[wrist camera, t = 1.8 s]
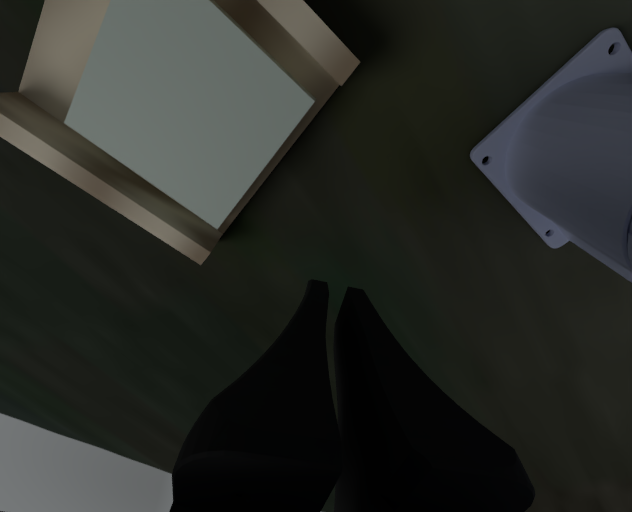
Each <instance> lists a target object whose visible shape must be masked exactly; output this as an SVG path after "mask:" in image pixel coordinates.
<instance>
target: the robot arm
mask: <svg viewBox="0 0 632 512" xmlns="http://www.w3.org/2000/svg"><path fill="white" fill-rule="evenodd" d="M612 44H614V49H613V51H612V52H611V53H610V54H609V53H608V50H609V47H610V46H611V45H612ZM486 156H488V161H487V162H486V163H484V164H482V159H483V158H484V157H486ZM470 158H471V160H472V161H473V162H474V163H475V165H476V166H477V167H478V168H479V169H480V170H481V171H482V172H483V173H484V175H485V176H486V177H487V178H488V179H489V180H490V181H491V182H492V184H493V185H494V186H495V187H496V188H497V189H498V190H499V191H500V192H501V194H502V195H503V196H504V197H505V198H506V199H507V200H508V201H509V203H510V204H511V205H512V206H513V207H514V208H515V209H516V210H517V211H518V213H519V214H520V215H521V216H522V217H523V218H524V219H525V220H526V222H527V223H528V224H529V225H530V226H531V227H532V228H533V229H534V230H535V232H536V233H537V234H538V235H539V236H540V237H541V238H542V239H543V241H544V242H545V243H546V244H547V245H548V246H550V247H551V248H559V247H561V246H562V245H564V244H565V243H567V242H568V241H571V242H573V243H574V244H576V245H577V246H579V247H580V248H582V249H583V250H585V251H586V252H588V253H589V254H590V255H592V256H593V257H595V258H596V259H598V260H599V261H601V262H602V263H604V264H605V265H607V266H608V267H610V268H611V269H613V270H614V271H615V272H617V273H618V274H620V275H621V276H623V277H624V278H626V279H627V280H629V281H630V282H632V51H631V50H630V48H629V46H628V44H627V42H626V41H625V39H624V37H623V35H622V33H621V32H620V30H619V29H618V28H608V29H605V30H603V31H601V32H600V33H599V34H597V35H596V36H595V37H594V38H593V39H592V40H591V41H590V42H589V43H588V44H587V45H585V46H584V47H583V48H582V49H581V50H580V51H579V52H578V53H577V54H576V55H574V56H573V57H572V58H571V59H570V60H569V61H568V62H567V63H566V64H565V65H564V66H562V67H561V68H560V69H559V70H558V71H557V72H556V73H555V74H554V75H553V76H552V77H550V78H549V79H548V80H547V81H546V82H545V83H544V84H543V85H542V86H541V87H540V88H538V89H537V90H536V91H535V92H534V93H533V94H532V95H531V96H530V97H529V98H527V99H526V100H525V101H524V102H523V103H522V104H521V105H520V106H519V107H518V108H517V109H515V110H514V111H513V112H512V113H511V114H510V115H509V116H508V117H507V118H506V119H505V120H503V121H502V122H501V123H500V124H499V125H498V126H497V127H496V128H495V129H494V130H492V131H491V132H490V133H489V134H488V135H487V136H486V137H485V138H484V139H483V140H482V141H480V142H479V143H478V144H477V145H476V146H475V147H474V148H473V149H472V150H471V153H470ZM548 230H550V232H549V233H547V234H546V232H547V231H548ZM328 298H329V290H328V284H327V282H323V281H318V280H313V279H311V280H309V281H308V284H307V288H306V292H305V295H304V298H303V300H302V302H301V304H300V306H299V307H298V309H297V311H296V313H295V314H294V316H293V317H292V319H291V320H290V322H289V323H288V325H287V326H286V328H285V329H284V331H283V332H282V333H281V334H280V336H279V337H278V338H277V339H276V341H275V342H274V343H273V344H272V345H271V346H270V348H269V349H268V350H267V351H266V352H265V353H264V354H263V355H262V356H261V357H260V358H259V359H258V360H257V361H256V362H255V363H254V364H253V365H252V366H251V367H250V368H249V369H248V370H247V371H246V372H245V373H244V374H242V375H241V376H240V377H239V378H238V379H237V380H236V381H234V382H233V383H232V384H231V385H229V386H228V387H227V388H226V389H224V390H223V391H222V392H221V393H219V394H218V395H217V396H215V397H214V398H213V399H212V400H211V401H210V402H209V404H208V405H207V407H206V408H205V409H204V411H203V412H202V413H201V415H200V416H199V418H198V419H197V421H196V422H195V424H194V425H193V427H192V429H191V430H190V432H189V434H188V436H187V438H186V439H185V441H184V443H183V445H182V448H181V450H180V453H179V456H178V458H177V461H176V463H175V466H174V469H173V473H172V484H173V485H172V486H173V504H172V506H171V509H170V512H320V511H321V510H322V508H323V506H324V504H325V502H326V500H327V499H328V497H329V495H330V493H331V491H332V490H333V488H334V486H335V484H336V487H335V506H334V512H524V511H526V510H527V509H528V508H529V507H530V506H531V505H532V502H533V500H534V497H535V491H534V487H533V485H532V483H531V481H530V479H529V477H528V475H527V473H526V471H525V469H524V467H523V465H522V463H521V461H520V459H519V457H518V455H517V454H516V452H515V450H514V449H513V448H512V447H511V446H509V445H508V444H507V443H505V442H504V441H503V440H501V439H500V438H499V437H497V436H496V435H495V434H493V433H492V432H491V431H489V430H488V429H487V428H485V427H484V426H483V425H481V424H480V423H479V422H478V421H476V420H475V419H474V418H473V417H472V416H470V415H469V414H468V413H467V412H466V411H464V410H463V409H462V408H461V407H460V406H458V405H457V404H456V403H455V402H454V401H453V400H452V399H451V398H449V397H448V396H447V395H446V394H445V393H444V392H443V391H442V390H441V389H440V388H439V387H438V386H437V385H436V384H435V383H434V382H433V381H432V380H431V379H430V378H429V377H428V376H427V375H426V374H425V373H424V372H423V371H422V370H421V369H420V368H419V367H418V365H417V364H416V363H415V362H414V361H413V360H412V359H411V358H410V357H409V355H408V354H407V353H406V352H405V350H404V349H403V348H402V347H401V345H400V344H399V343H398V341H397V340H396V339H395V338H394V336H393V335H392V333H391V332H390V331H389V329H388V328H387V326H386V325H385V323H384V322H383V320H382V319H381V317H380V316H379V314H378V313H377V311H376V310H375V308H374V306H373V305H372V303H371V302H370V300H369V298H368V297H367V295H366V293H365V292H364V290H362V289H357V288H352V287H348V288H347V291H346V294H345V297H344V299H343V302H342V305H341V308H340V311H339V314H338V317H337V320H336V323H335V329H334V363H335V376H336V389H337V402H338V424H337V419H336V414H335V409H334V404H333V399H332V393H331V386H330V379H329V371H328V362H327V352H326V338H325V334H326V319H327V309H328ZM0 512H3V511H0Z"/></svg>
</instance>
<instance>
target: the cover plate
mask: <svg viewBox="0 0 632 512" xmlns="http://www.w3.org/2000/svg"><path fill="white" fill-rule="evenodd" d="M315 100H316V98H315V97H314V96H313V95H312V94H311V93H310V92H308V91H307V90H306V89H305V88H304V87H303V86H302V85H301V84H300V83H299V82H298V81H297V80H296V79H295V78H294V77H293V76H292V75H291V74H290V73H289V72H288V71H287V70H286V69H285V68H284V67H283V66H282V65H281V64H279V63H278V62H277V61H276V60H275V59H274V58H273V57H272V56H271V55H270V54H269V53H268V52H267V51H266V50H265V49H264V48H263V47H262V46H261V45H260V44H259V43H258V42H257V41H256V40H255V39H254V38H253V37H252V36H250V35H249V34H248V33H247V32H246V31H245V30H244V29H243V28H242V27H241V26H240V25H239V24H238V23H237V22H236V21H235V20H234V19H233V18H232V17H231V16H230V15H229V14H228V13H227V12H226V11H225V10H224V9H222V8H221V7H220V6H219V5H218V4H217V3H216V2H215V1H214V0H110V3H109V6H108V8H107V11H106V14H105V16H104V19H103V21H102V24H101V27H100V29H99V32H98V35H97V37H96V40H95V43H94V45H93V48H92V50H91V53H90V56H89V58H88V61H87V64H86V66H85V69H84V71H83V74H82V77H81V79H80V82H79V85H78V87H77V90H76V92H75V95H74V98H73V100H72V103H71V106H70V108H69V111H68V114H67V116H66V119H65V121H64V123H65V124H66V125H68V126H69V127H71V128H72V129H73V130H75V131H76V132H78V133H79V134H81V135H82V136H84V137H85V138H86V139H88V140H89V141H91V142H92V143H94V144H95V145H96V146H98V147H99V148H101V149H102V150H104V151H105V152H107V153H108V154H109V155H111V156H112V157H114V158H115V159H117V160H118V161H120V162H121V163H122V164H124V165H125V166H127V167H128V168H130V169H131V170H132V171H134V172H135V173H137V174H138V175H140V176H141V177H143V178H144V179H145V180H147V181H148V182H150V183H151V184H153V185H154V186H155V187H157V188H158V189H160V190H161V191H163V192H164V193H166V194H167V195H168V196H170V197H171V198H173V199H174V200H176V201H177V202H178V203H180V204H181V205H183V206H184V207H186V208H187V209H189V210H190V211H191V212H193V213H194V214H196V215H197V216H199V217H200V218H201V219H203V220H204V221H206V222H207V223H209V224H210V225H212V226H213V227H214V228H216V229H218V228H219V226H220V225H221V224H222V223H223V221H224V220H225V219H226V217H227V216H228V215H229V213H230V212H231V211H232V209H233V208H234V207H235V206H236V204H237V203H238V202H239V200H240V199H241V198H242V196H243V195H244V194H245V192H246V191H247V190H248V188H249V187H250V186H251V185H252V183H253V182H254V181H255V179H256V178H257V177H258V175H259V174H260V173H261V171H262V170H263V169H264V168H265V166H266V165H267V164H268V162H269V161H270V160H271V158H272V157H273V156H274V154H275V153H276V152H277V150H278V149H279V148H280V147H281V145H282V144H283V143H284V141H285V140H286V139H287V137H288V136H289V135H290V133H291V132H292V131H293V130H294V128H295V127H296V126H297V124H298V123H299V122H300V120H301V119H302V118H303V116H304V115H305V114H306V112H307V111H308V110H309V109H310V107H311V106H312V105H313V103H314V102H315Z"/></svg>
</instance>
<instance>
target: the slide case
mask: <svg viewBox="0 0 632 512" xmlns="http://www.w3.org/2000/svg"><path fill="white" fill-rule="evenodd" d="M214 1H215V2H216V3H217V4H218V5H219V6H220V7H221V8H222V9H224V10H225V11H226V12H227V13H228V14H229V15H230V16H231V17H232V18H233V19H234V20H235V21H236V22H237V23H238V24H239V25H240V26H241V27H242V28H243V29H244V30H245V31H246V32H247V33H248V34H249V35H250V36H252V37H253V38H254V39H255V40H256V41H257V42H258V43H259V44H260V45H261V46H262V47H263V48H264V49H265V50H266V51H267V52H268V53H269V54H270V55H271V56H272V57H273V58H274V59H275V60H276V61H277V62H278V63H279V64H281V65H282V66H283V67H284V68H285V69H286V70H287V71H288V72H289V73H290V74H291V75H292V76H293V77H294V78H295V79H296V80H297V81H298V82H299V83H300V84H301V85H302V86H303V87H304V88H305V89H306V90H307V91H308V92H310V93H311V94H312V95H313V96H314V97H315V98H316V100H315V102H314V103H313V105H312V106H311V107H310V109H309V110H308V111H307V112H306V114H305V115H304V116H303V118H302V119H301V120H300V122H299V123H298V124H297V126H296V127H295V128H294V130H293V131H292V132H291V133H290V135H289V136H288V137H287V139H286V140H285V141H284V143H283V144H282V145H281V147H280V148H279V149H278V150H277V152H276V153H275V154H274V156H273V157H272V158H271V160H270V161H269V162H268V164H267V165H266V166H265V168H264V169H263V170H262V171H261V173H260V174H259V175H258V177H257V178H256V179H255V181H254V182H253V183H252V185H251V186H250V187H249V188H248V190H247V191H246V192H245V194H244V195H243V196H242V198H241V199H240V200H239V202H238V203H237V204H236V206H235V207H234V208H233V209H232V211H231V212H230V213H229V215H228V216H227V217H226V219H225V220H224V221H223V223H222V224H221V225H220V226H219V228H218V229H216V228H214V227H213V226H212V225H210V224H209V223H207V222H206V221H204V220H203V219H201V218H200V217H199V216H197V215H196V214H194V213H193V212H191V211H190V210H189V209H187V208H186V207H184V206H183V205H181V204H180V203H178V202H177V201H176V200H174V199H173V198H171V197H170V196H168V195H167V194H166V193H164V192H163V191H161V190H160V189H158V188H157V187H155V186H154V185H153V184H151V183H150V182H148V181H147V180H145V179H144V178H143V177H141V176H140V175H138V174H137V173H135V172H134V171H132V170H131V169H130V168H128V167H127V166H125V165H124V164H122V163H121V162H120V161H118V160H117V159H115V158H114V157H112V156H111V155H109V154H108V153H107V152H105V151H104V150H102V149H101V148H99V147H98V146H96V145H95V144H94V143H92V142H91V141H89V140H88V139H86V138H85V137H84V136H82V135H81V134H79V133H78V132H76V131H75V130H73V129H72V128H71V127H69V126H68V125H66V124H65V123H64V121H65V119H66V116H67V114H68V111H69V108H70V106H71V103H72V100H73V98H74V95H75V92H76V90H77V87H78V85H79V82H80V79H81V77H82V74H83V71H84V69H85V66H86V64H87V61H88V58H89V56H90V53H91V50H92V48H93V45H94V43H95V40H96V37H97V35H98V32H99V29H100V27H101V24H102V21H103V19H104V16H105V14H106V11H107V8H108V6H109V3H110V0H45V2H44V6H43V9H42V13H41V16H40V20H39V23H38V26H37V30H36V33H35V37H34V40H33V44H32V47H31V50H30V54H29V57H28V61H27V64H26V68H25V71H24V74H23V78H22V81H21V85H20V88H19V92H9V93H0V137H2V138H3V139H5V140H6V141H8V142H10V143H11V144H13V145H14V146H16V147H17V148H19V149H21V150H22V151H24V152H25V153H27V154H28V155H30V156H31V157H33V158H35V159H36V160H38V161H39V162H41V163H42V164H44V165H45V166H47V167H49V168H50V169H52V170H53V171H55V172H56V173H58V174H60V175H61V176H63V177H64V178H66V179H67V180H69V181H70V182H72V183H74V184H75V185H77V186H78V187H80V188H81V189H83V190H85V191H86V192H88V193H89V194H91V195H92V196H94V197H95V198H97V199H99V200H100V201H102V202H103V203H105V204H106V205H108V206H109V207H111V208H113V209H114V210H116V211H117V212H119V213H120V214H122V215H124V216H125V217H127V218H128V219H130V220H131V221H133V222H134V223H136V224H138V225H139V226H141V227H142V228H144V229H145V230H147V231H149V232H150V233H152V234H153V235H155V236H156V237H158V238H159V239H161V240H163V241H164V242H166V243H167V244H169V245H170V246H172V247H174V248H175V249H177V250H178V251H180V252H181V253H183V254H184V255H186V256H188V257H189V258H191V259H192V260H194V261H195V262H197V263H198V264H200V265H201V264H202V263H203V262H204V260H205V259H206V258H207V257H208V255H209V254H210V253H211V251H212V250H213V248H214V247H215V245H216V244H217V242H218V241H219V239H220V238H221V236H222V235H223V233H224V232H225V231H226V229H227V228H228V227H229V226H230V224H231V223H232V222H233V220H234V219H235V218H236V217H237V215H238V214H239V213H240V211H241V210H242V209H243V208H244V206H245V205H246V204H247V203H248V201H249V200H250V199H251V197H252V196H253V195H254V194H255V192H256V191H257V190H258V188H259V187H260V186H261V185H262V183H263V182H264V181H265V179H266V178H267V177H268V176H269V174H270V173H271V172H272V171H273V169H274V168H275V167H276V165H277V164H278V163H279V162H280V160H281V159H282V158H283V156H284V155H285V154H286V153H287V151H288V150H289V149H290V147H291V146H292V145H293V144H294V142H295V141H296V140H297V139H298V137H299V136H300V135H301V133H302V132H303V131H304V130H305V128H306V127H307V126H308V124H309V123H310V122H311V121H312V119H313V118H314V117H315V115H316V114H317V113H318V112H319V110H320V109H321V108H322V107H323V105H324V104H325V103H326V101H327V100H328V99H329V98H330V96H331V95H332V94H333V92H334V91H335V90H336V89H337V87H338V86H339V85H341V86H342V85H343V84H344V82H345V81H346V80H347V78H348V77H349V76H350V75H351V73H352V72H353V71H354V70H355V68H356V67H357V66H358V64H359V63H360V61H359V60H358V59H357V58H356V57H355V56H354V55H353V53H352V52H351V51H350V50H349V49H348V48H347V47H346V46H345V45H344V44H343V43H342V42H341V40H340V39H339V38H338V37H337V36H336V35H335V34H334V33H333V32H332V31H331V30H330V29H329V28H328V26H327V25H326V24H325V23H324V22H323V21H322V20H321V19H320V18H319V17H318V16H317V15H316V13H315V12H314V11H313V10H312V9H311V8H310V7H309V6H308V5H307V4H306V3H305V2H304V1H303V0H214Z"/></svg>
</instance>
